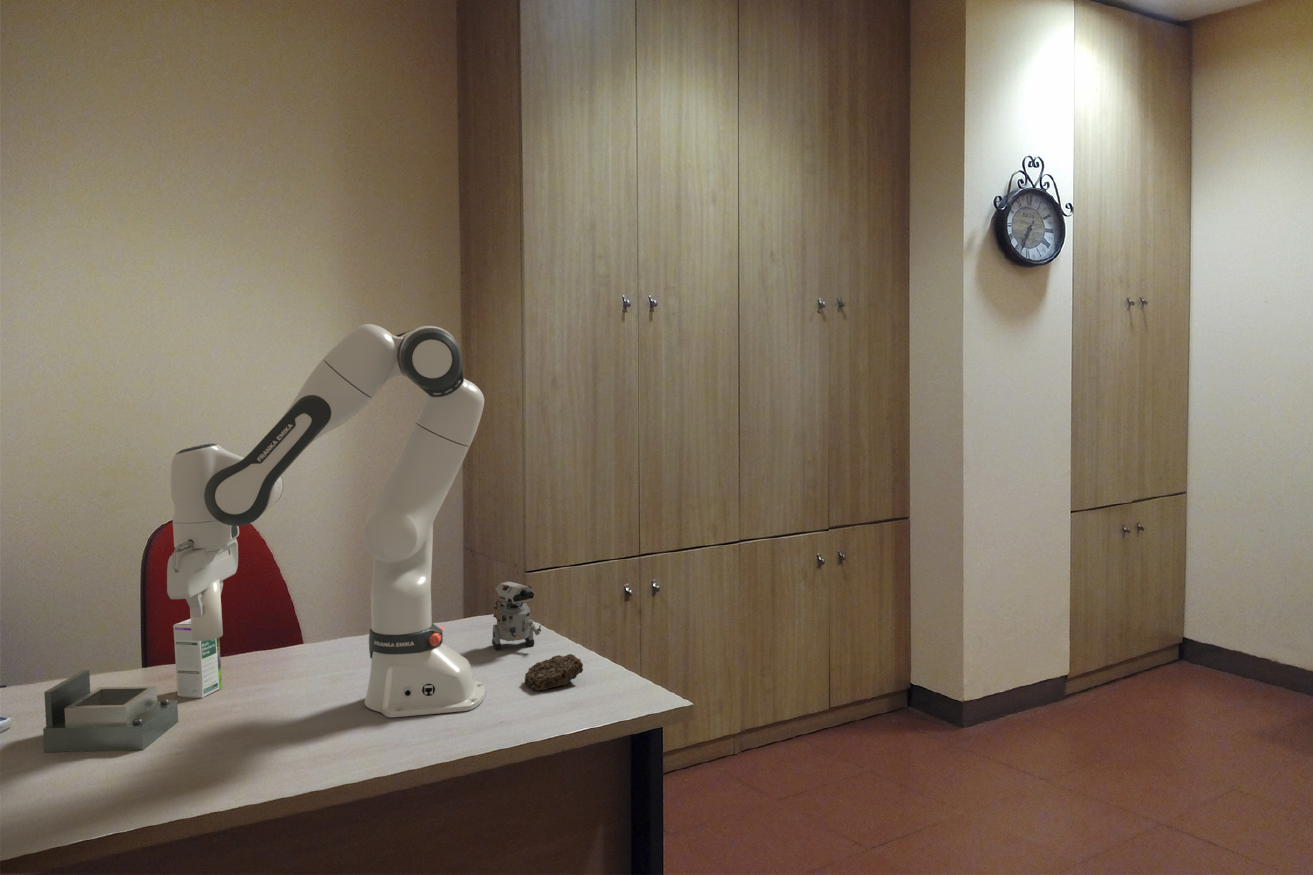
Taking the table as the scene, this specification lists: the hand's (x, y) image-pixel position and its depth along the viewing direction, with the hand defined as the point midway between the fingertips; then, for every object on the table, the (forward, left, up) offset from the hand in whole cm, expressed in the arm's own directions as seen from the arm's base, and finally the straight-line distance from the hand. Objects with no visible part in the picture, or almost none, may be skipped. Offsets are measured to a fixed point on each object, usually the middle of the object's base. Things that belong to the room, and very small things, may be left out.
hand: (206, 611), depth 162 cm
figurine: (-51, -39, -20) cm, 67 cm away
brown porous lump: (-61, -16, -20) cm, 66 cm away
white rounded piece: (+1, 0, -5) cm, 5 cm away
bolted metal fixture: (+13, +7, -20) cm, 25 cm away
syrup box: (+8, -14, -20) cm, 26 cm away
